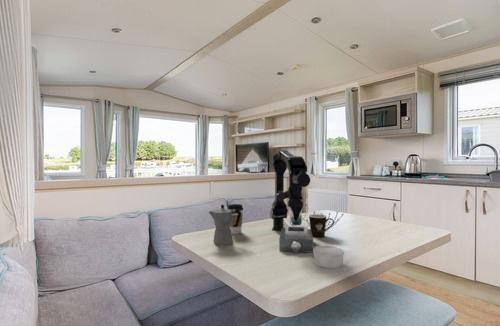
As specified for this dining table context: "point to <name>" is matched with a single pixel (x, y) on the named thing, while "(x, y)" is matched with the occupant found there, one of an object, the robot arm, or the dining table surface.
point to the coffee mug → (318, 225)
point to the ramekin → (328, 256)
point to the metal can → (294, 220)
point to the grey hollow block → (296, 239)
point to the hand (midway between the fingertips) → (295, 219)
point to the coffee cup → (234, 217)
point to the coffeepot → (224, 225)
